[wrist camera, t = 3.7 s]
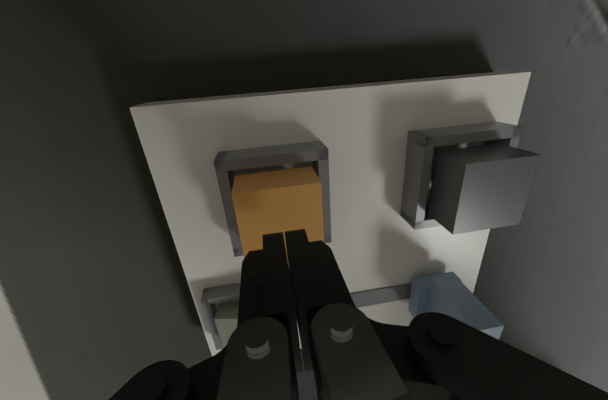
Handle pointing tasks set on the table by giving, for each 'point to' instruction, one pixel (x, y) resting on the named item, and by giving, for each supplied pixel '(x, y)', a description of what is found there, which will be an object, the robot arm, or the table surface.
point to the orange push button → (277, 205)
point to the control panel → (328, 177)
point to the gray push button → (481, 187)
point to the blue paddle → (452, 302)
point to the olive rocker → (226, 321)
